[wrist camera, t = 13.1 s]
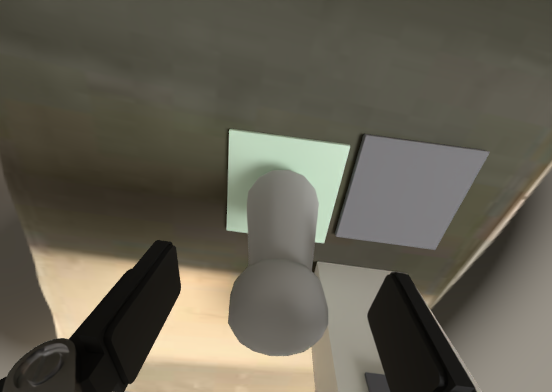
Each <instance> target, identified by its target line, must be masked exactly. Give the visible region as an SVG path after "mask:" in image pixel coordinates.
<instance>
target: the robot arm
mask: <svg viewBox="0 0 552 392" xmlns="http://www.w3.org/2000/svg"><path fill="white" fill-rule="evenodd" d="M180 290H181V283H180V276H179V268H178V260H177V252H176V247H175V246H173V245H172V242H168V241H161V240H157V241H155V242H154V243H153V245H152V246H151V247H150V248H149V249H148V251H147V252H146V253H145V254H144V255H143V257H142V258H141V259H140V260H139V261H138V263H137V264H136V265H135V266H134V267H133V269H130V270H128V271H127V272H126V273H125V274H124V275H123V276H122V277H121V278H120V280H119V281H118V282H117V283H116V284H115V286H114V287H113V288H112V289H111V290H110V291H109V293H108V294H107V295H106V296H105V297H104V298H103V300H102V301H101V302H100V303H99V304H98V305H97V307H96V308H95V309H94V310H93V311H92V313H91V314H90V315H89V316H88V317H87V318H86V320H85V321H84V322H83V323H82V324H81V325H80V327H79V328H78V329H77V330H76V331H75V333H74V334H73V335H72V336H71V337H70V338H69V339H65V338H60V339H53V340H50V341H47V342H44V343H42V344H40V345H38V346H37V347H35V348H33V349H32V350H30V351H29V352H28V353H26V354H25V355H24V356H23V357H22V358H20V359H19V360H18V361H17V362H16V363H15V365H14V366H13V367H12V369H11V370H10V371H9V373H8V375H7V377H5V378H3V379H1V380H0V392H124V391H125V389H126V387H127V385H128V384H132V383H133V382H134V380H135V379H136V377H137V375H138V373H139V371H140V369H141V367H142V365H143V364H144V362H145V360H146V358H147V356H148V354H149V352H150V350H151V348H152V346H153V344H154V342H155V340H156V338H157V337H158V335H159V333H160V331H161V329H162V327H163V325H164V323H165V321H166V319H167V317H168V315H169V313H170V311H171V309H172V308H173V306H174V304H175V302H176V300H177V298H178V296H179V294H180ZM367 318H368V322H369V326H370V329H371V332H372V335H373V338H374V342H375V345H376V348H377V351H378V354H379V357H380V361H381V364H382V367H383V370H384V373H385V377H386V380H387V383H388V386H389V389H390V392H477V391H476V389H475V386H474V385H473V383H472V381H471V380H470V378H469V376H468V375H467V373H466V371H465V369H464V368H463V366H462V364H461V363H460V361H459V359H458V358H457V356H456V354H455V353H454V351H453V349H452V347H451V346H450V344H449V342H448V341H447V339H446V337H445V336H444V334H443V332H442V331H441V329H440V327H439V326H438V324H437V322H436V320H435V319H434V317H433V315H432V314H431V312H430V310H429V309H428V307H427V305H426V304H425V302H424V300H423V298H422V297H421V295H420V293H419V292H418V290H417V288H416V287H415V285H414V283H413V282H412V280H411V278H410V277H409V275H408V274H406V273H399V272H391V273H390V275H387V276H386V277H385V279H384V281H383V283H382V285H381V287H380V289H379V291H378V293H377V295H376V297H375V299H374V301H373V303H372V305H371V307H370V309H369V311H368V314H367Z"/></svg>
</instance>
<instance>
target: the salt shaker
mask: <svg viewBox="0 0 552 392" xmlns="http://www.w3.org/2000/svg"><path fill="white" fill-rule="evenodd" d="M318 207H319V202H318V198H317V194H316V190H315V188H314V187H313V186H312V185H311V184H310V182H309V181H308V180H307V179H306V178H305V176H303V175H301V174H298V173H296V172H293V171H291V170H272V171H270V172H268V173H266V174H264V175H262V176H260V177H259V178H258V179H257V180H256V182H255V183H254V184H253V186H252V187H251V189H250V190H249V191H248V198H247V225H248V248H249V266H248V267H247V268H246V269H245V270H244V271H243V272H242V273H241V274H240V276H239V277H238V278H237V279H236V281H235V282H234V285H233V288H232V291H231V294H230V305H229V318H228V324H229V326H230V327H231V329H232V331H233V333H234V334H235V336H236V337H237V339H238V340H239V342H240V343H241V344H243V345H245V346H246V347H248V348H249V349H251V350H252V351H255V352H258V353H262V354H265V355H269V356H289V355H293V354H297V353H301V352H304V351H306V350H307V349H309V348H310V347H312V346H313V345H314V344H316V343H317V342H318V341H319V340H320V339H321V338H322V336H323V334H324V332H325V330H326V328H327V326H328V306H327V302H326V298H325V294H324V291H323V287H322V284H321V281H320V280H319V278H318V277H317V276H316V275H315V274H314V273H313V272H312V265H313V255H314V246H315V236H316V226H317V217H318Z"/></svg>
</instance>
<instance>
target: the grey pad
mask: <svg viewBox="0 0 552 392" xmlns="http://www.w3.org/2000/svg"><path fill="white" fill-rule="evenodd" d="M489 153H490V152H489V151H485V150H480V149H472V148H465V147H458V146H450V145H443V144H435V143H428V142H420V141H413V140H406V139H398V138H391V137H383V136H376V135H368V134H364V135H363V139H362V142H361V146H360V149H359V152H358V156H357V159H356V163H355V166H354V170H353V173H352V176H351V180H350V183H349V187H348V190H347V194H346V197H345V200H344V204H343V207H342V211H341V214H340V218H339V221H338V224H337V228H336V231H335V235H336V237H343V238H351V239H358V240H366V241H374V242H381V243H389V244H396V245H404V246H411V247H419V248H426V249H434V250H435V249H436V247H437V246H438V244H439V242H440V240H441V238H442V237H443V235H444V233H445V231H446V229H447V228H448V226H449V224H450V222H451V220H452V219H453V217H454V215H455V213H456V212H457V210H458V208H459V206H460V204H461V203H462V201H463V199H464V197H465V195H466V194H467V192H468V190H469V188H470V187H471V185H472V183H473V181H474V179H475V178H476V176H477V174H478V172H479V170H480V169H481V167H482V165H483V163H484V162H485V160H486V158H487V156H488V154H489Z"/></svg>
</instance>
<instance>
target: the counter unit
mask: <svg viewBox="0 0 552 392" xmlns="http://www.w3.org/2000/svg"><path fill="white" fill-rule="evenodd" d="M391 272H394V271H386V270H378V269H371V268H363V267H356V266H348V265H341V264H333V263H326V262H318V261H317V265H316V268H315V272H314V274H315V275H316V276H317V277H318V278H319V280H320V281H321V284H322V287H323V291H324V294H325V298H326V302H327V306H328V326H327V328H326V330H325V332H324V334H323V336H322V338H321V339H320V340H319V341H318V342H317V343H316V344H314V345H313V346H312V359H313V370H314V382H315V392H390V389H389V386H388V383H387V380H386V377H385V373H384V370H383V367H382V364H381V361H380V357H379V354H378V351H377V348H376V345H375V342H374V338H373V335H372V332H371V329H370V326H369V322H368V318H367V314H368V311H369V309H370V307H371V305H372V303H373V301H374V299H375V297H376V295H377V293H378V291H379V289H380V287H381V285H382V283H383V281H384V279H385V277H386V276H387V275H390V273H391ZM399 273H401V272H399ZM406 274H407V273H406ZM415 287H416V286H415ZM418 292H419V291H418ZM420 295H421V294H420ZM421 297H422V296H421ZM422 298H423V297H422ZM423 300H424V299H423ZM424 302H425V301H424ZM425 304H426V302H425ZM426 305H427V304H426ZM427 307H428V305H427ZM428 309H429V307H428ZM429 310H430V309H429ZM430 312H431V310H430ZM431 314H432V315H433V313H432V312H431ZM433 317H434V315H433ZM434 319H435V320H436V318H435V317H434ZM436 322H437V324H438V326H439V327H440V329H441V331H442V332H443V334H444V336H445V337H446V339H447V341H448V342H449V344H450V346H451V347H452V349H453V351H454V353H455V354H456V356H457V358H458V359H459V361H460V363H461V364H462V366H463V368H464V369H465V371H466V373H467V375H468V376H469V378H470V380H471V381H472V383H473V385H474V386H475V389H476V391H477V392H482V390H481V389H480V387H479V386H478V384H477V383H476V381H475V379H474V378H473V376H472V375H471V373H470V371H469V370H468V368H467V367H466V365H465V364H464V362H463V360H462V359H461V357H460V356H459V354H458V353H457V351H456V349H455V348H454V346H453V345H452V343H451V342H450V340H449V339H448V337H447V335H446V334H445V332H444V331H443V329H442V327H441V326H440V324H439V323H438V321H437V320H436Z"/></svg>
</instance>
